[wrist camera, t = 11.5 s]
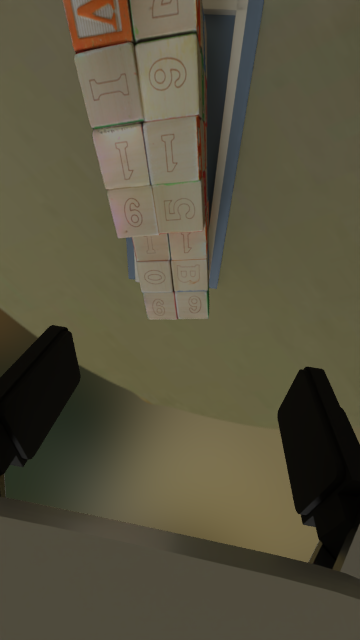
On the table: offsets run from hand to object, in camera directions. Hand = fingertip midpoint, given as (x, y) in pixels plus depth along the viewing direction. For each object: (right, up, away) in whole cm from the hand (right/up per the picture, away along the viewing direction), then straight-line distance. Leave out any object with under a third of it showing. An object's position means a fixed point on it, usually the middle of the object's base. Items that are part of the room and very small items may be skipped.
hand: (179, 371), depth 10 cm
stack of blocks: (0, +16, +16) cm, 23 cm away
